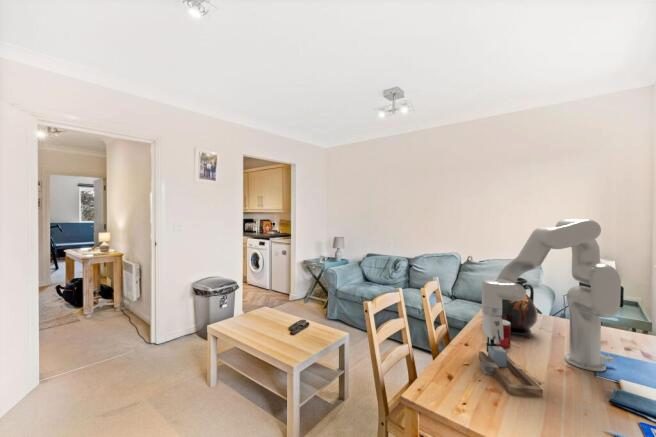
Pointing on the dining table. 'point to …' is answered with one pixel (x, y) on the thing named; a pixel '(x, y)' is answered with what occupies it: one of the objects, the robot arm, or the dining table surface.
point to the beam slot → (492, 369)
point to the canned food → (505, 335)
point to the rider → (497, 355)
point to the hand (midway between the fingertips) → (491, 352)
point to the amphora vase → (520, 312)
